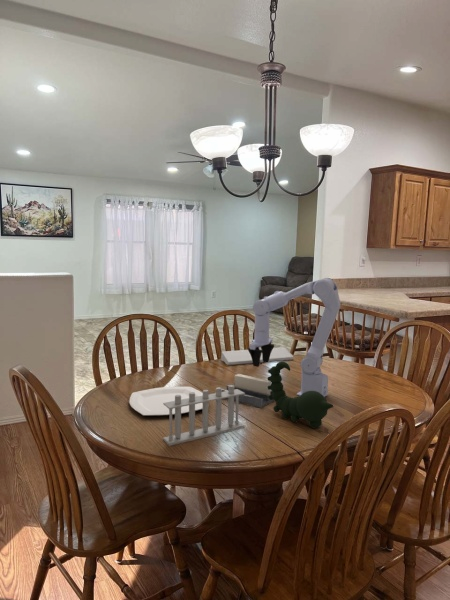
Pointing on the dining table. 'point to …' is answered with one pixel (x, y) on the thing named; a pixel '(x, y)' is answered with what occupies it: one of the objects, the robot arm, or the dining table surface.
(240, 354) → the decorative molding
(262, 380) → the clay strip
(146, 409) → the plate
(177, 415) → the test tube rack
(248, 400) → the grey grooved block
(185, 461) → the dining table surface
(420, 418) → the dining table surface
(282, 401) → the toy figurine
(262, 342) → the robot arm
